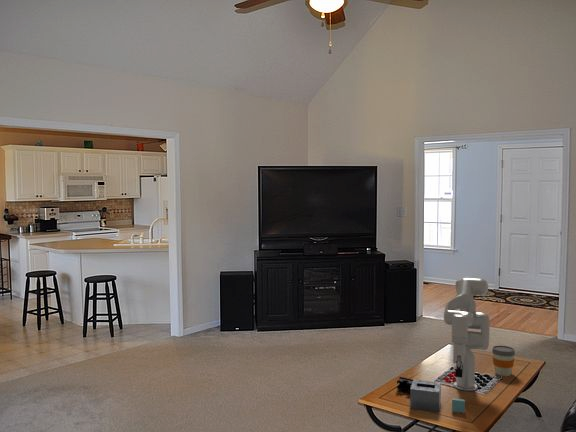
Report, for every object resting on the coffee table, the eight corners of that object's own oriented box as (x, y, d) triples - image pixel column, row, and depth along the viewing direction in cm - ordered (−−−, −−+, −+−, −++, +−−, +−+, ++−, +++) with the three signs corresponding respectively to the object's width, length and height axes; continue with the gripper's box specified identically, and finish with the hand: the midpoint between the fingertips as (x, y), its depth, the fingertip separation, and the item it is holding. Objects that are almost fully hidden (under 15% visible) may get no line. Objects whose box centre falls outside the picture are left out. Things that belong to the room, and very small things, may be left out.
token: (452, 409, 265) (452, 398, 265) (464, 411, 263) (464, 399, 263) (451, 411, 264) (452, 399, 263) (464, 413, 262) (464, 401, 261)
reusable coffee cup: (492, 368, 325) (493, 344, 325) (515, 371, 320) (515, 347, 319) (490, 375, 314) (491, 350, 313) (513, 378, 309) (514, 352, 308)
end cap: (418, 391, 290) (418, 379, 290) (413, 395, 284) (413, 382, 284) (401, 387, 296) (401, 375, 296) (396, 391, 290) (396, 378, 290)
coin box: (413, 397, 280) (413, 379, 280) (440, 401, 276) (440, 382, 275) (410, 408, 267) (410, 388, 267) (439, 412, 263) (439, 392, 262)
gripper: (452, 334, 271) (451, 367, 272) (450, 343, 255) (450, 378, 255) (467, 335, 269) (467, 369, 269) (467, 344, 252) (466, 380, 253)
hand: (458, 373), depth 262 cm, fingers open, 9 cm apart
